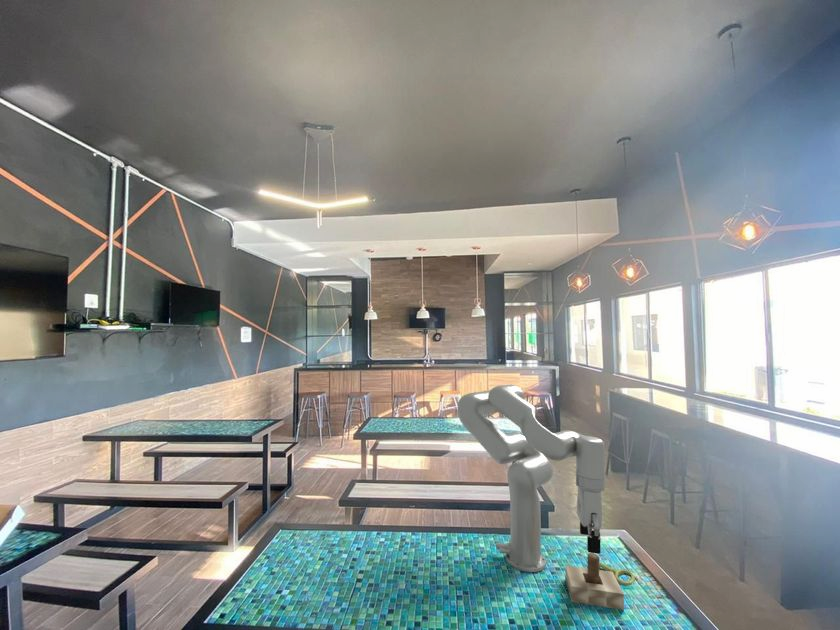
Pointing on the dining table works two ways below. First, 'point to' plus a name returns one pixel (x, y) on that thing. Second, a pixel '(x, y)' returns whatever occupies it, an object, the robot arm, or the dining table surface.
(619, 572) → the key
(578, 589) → the maple hole block
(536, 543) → the robot arm
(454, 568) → the dining table surface
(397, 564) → the dining table surface
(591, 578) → the walnut peg
